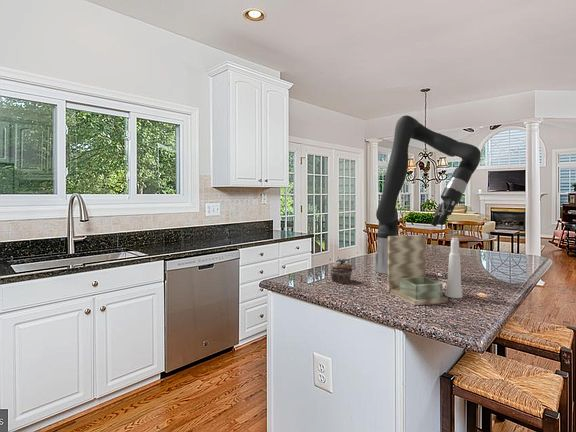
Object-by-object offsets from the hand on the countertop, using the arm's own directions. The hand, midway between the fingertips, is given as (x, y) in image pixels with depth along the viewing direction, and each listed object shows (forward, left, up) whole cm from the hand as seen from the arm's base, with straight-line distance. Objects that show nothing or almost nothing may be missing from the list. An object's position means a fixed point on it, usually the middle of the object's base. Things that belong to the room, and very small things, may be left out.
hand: (436, 224), depth 150 cm
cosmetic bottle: (+9, -14, -26) cm, 31 cm away
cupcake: (-37, -14, -26) cm, 47 cm away
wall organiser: (-2, -22, -25) cm, 34 cm away
